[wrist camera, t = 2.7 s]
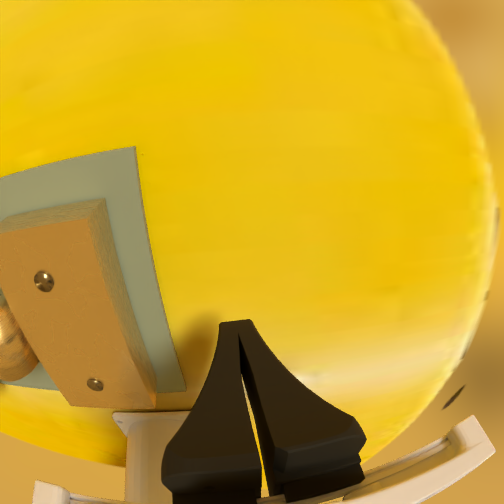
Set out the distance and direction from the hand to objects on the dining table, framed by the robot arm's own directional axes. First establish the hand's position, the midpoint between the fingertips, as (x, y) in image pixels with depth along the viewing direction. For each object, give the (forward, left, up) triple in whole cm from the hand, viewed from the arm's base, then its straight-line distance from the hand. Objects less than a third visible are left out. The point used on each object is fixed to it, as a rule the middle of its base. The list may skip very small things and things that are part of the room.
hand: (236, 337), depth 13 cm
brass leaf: (0, +10, -3) cm, 11 cm away
